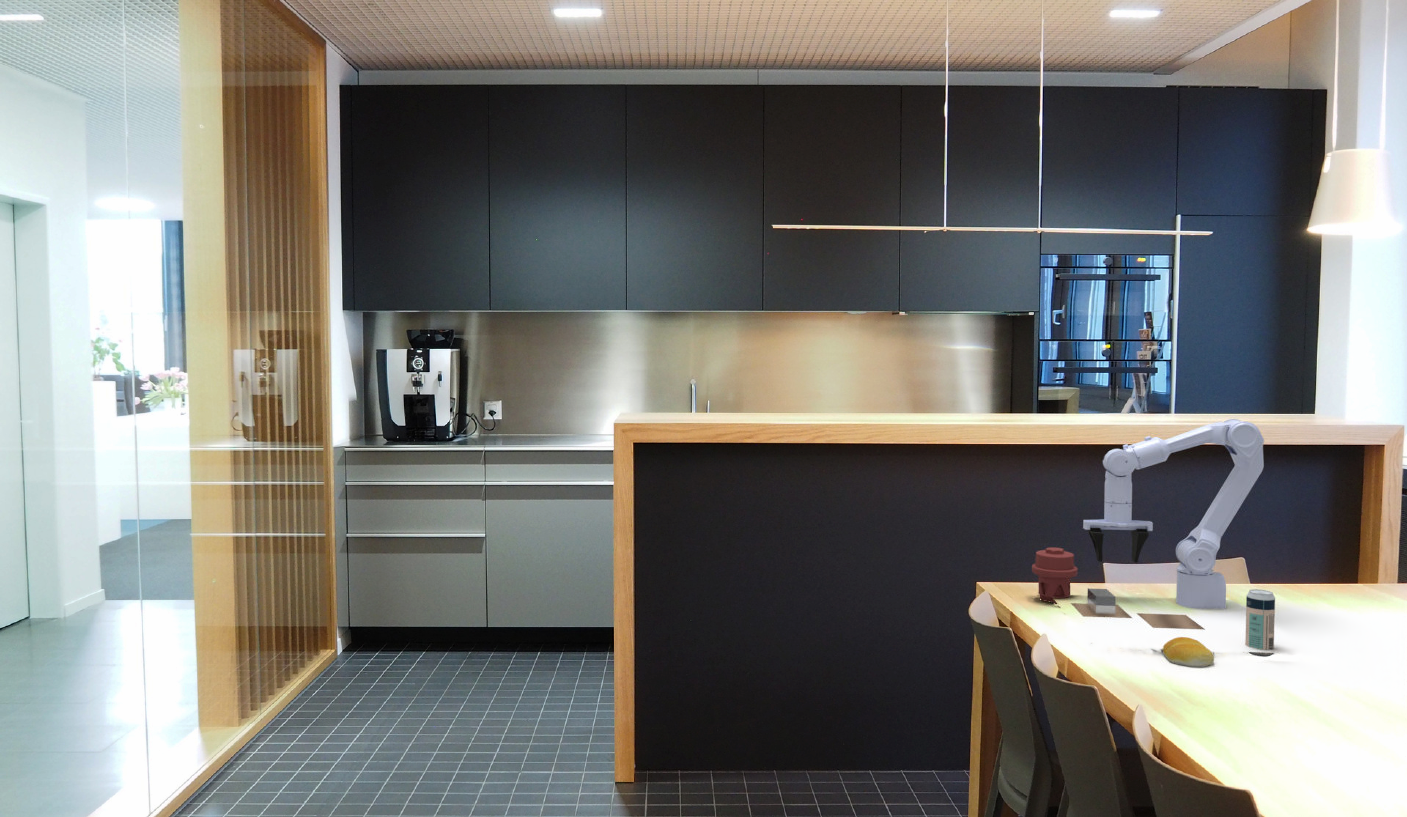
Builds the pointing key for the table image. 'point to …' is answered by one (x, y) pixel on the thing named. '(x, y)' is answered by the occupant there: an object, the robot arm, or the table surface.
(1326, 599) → the table surface
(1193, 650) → the bread roll
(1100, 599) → the block
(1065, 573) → the mechanical component
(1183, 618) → the stand
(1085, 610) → the stand
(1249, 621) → the beer can
